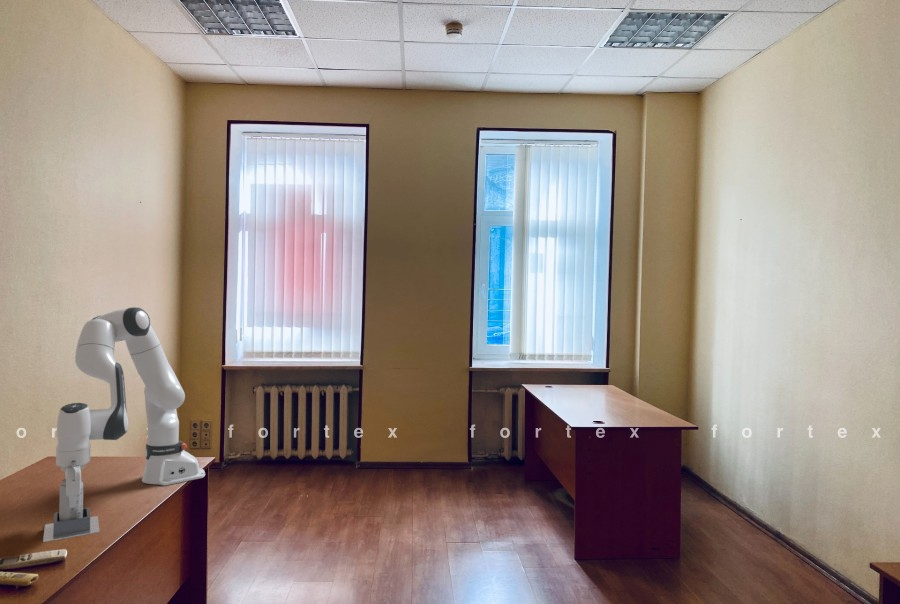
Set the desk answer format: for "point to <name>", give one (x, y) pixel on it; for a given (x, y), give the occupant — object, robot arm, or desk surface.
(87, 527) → the socket
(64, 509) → the energy drink can
